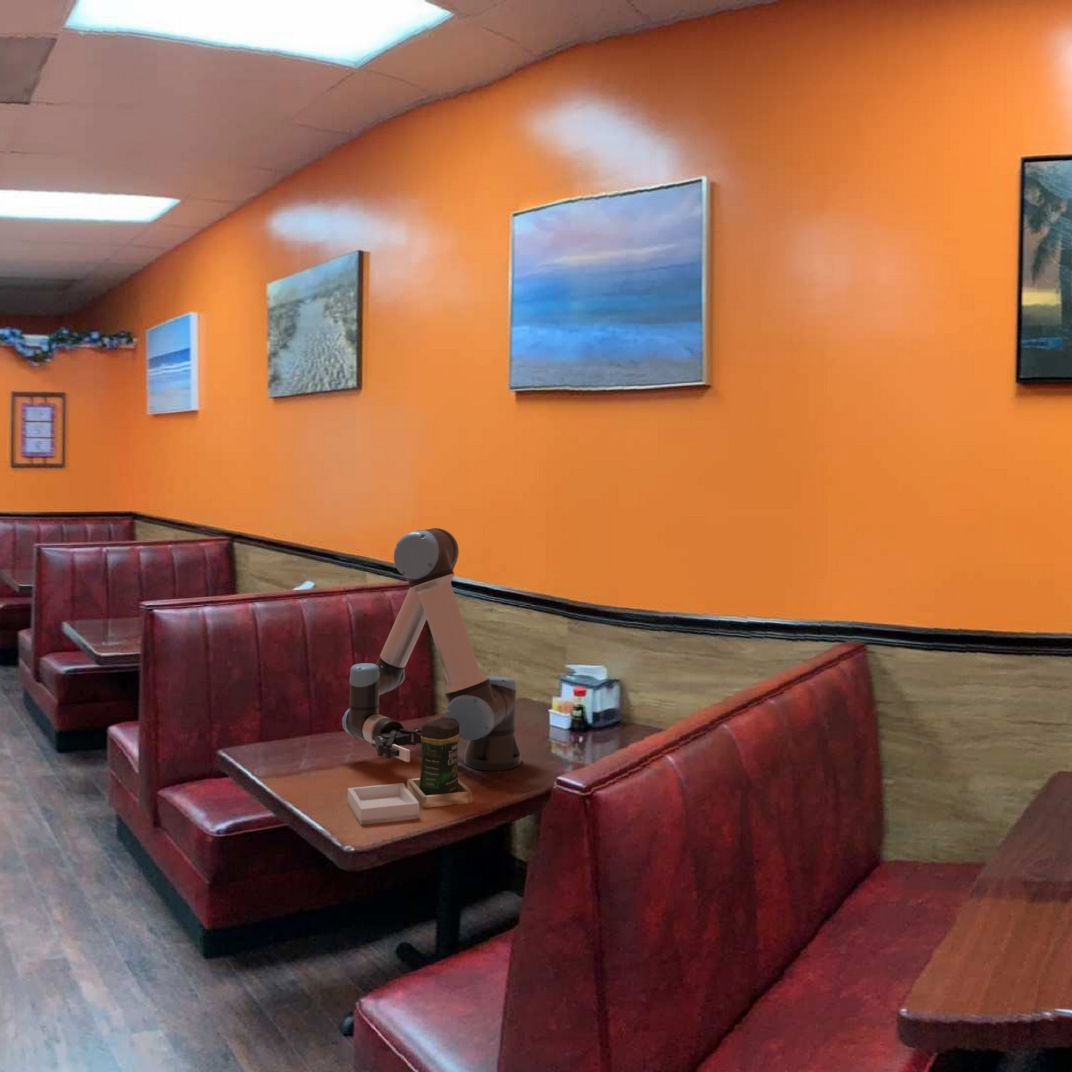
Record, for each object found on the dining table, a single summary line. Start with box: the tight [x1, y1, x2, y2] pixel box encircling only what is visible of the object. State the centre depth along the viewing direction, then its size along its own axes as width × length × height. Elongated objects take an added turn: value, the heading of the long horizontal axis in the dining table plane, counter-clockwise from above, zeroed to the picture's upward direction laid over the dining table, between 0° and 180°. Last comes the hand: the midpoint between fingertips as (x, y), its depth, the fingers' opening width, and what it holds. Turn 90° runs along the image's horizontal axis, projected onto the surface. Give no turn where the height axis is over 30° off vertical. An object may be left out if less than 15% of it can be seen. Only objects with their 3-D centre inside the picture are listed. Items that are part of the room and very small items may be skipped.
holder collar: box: [406, 777, 473, 809], centre depth 241 cm, size 12×14×2 cm
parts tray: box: [347, 782, 420, 826], centre depth 230 cm, size 13×15×4 cm
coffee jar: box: [419, 716, 460, 796], centre depth 241 cm, size 10×8×19 cm
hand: (432, 751), depth 242 cm, fingers open, 13 cm apart
